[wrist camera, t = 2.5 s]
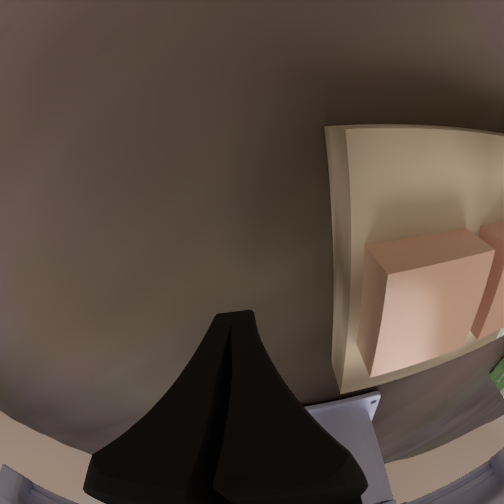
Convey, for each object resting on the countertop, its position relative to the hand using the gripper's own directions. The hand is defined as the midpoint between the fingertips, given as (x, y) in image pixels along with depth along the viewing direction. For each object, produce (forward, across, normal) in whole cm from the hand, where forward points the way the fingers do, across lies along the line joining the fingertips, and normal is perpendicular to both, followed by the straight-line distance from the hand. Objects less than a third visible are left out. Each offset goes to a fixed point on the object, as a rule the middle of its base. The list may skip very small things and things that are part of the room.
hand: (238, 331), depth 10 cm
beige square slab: (+3, -10, 0) cm, 11 cm away
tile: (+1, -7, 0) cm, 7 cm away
